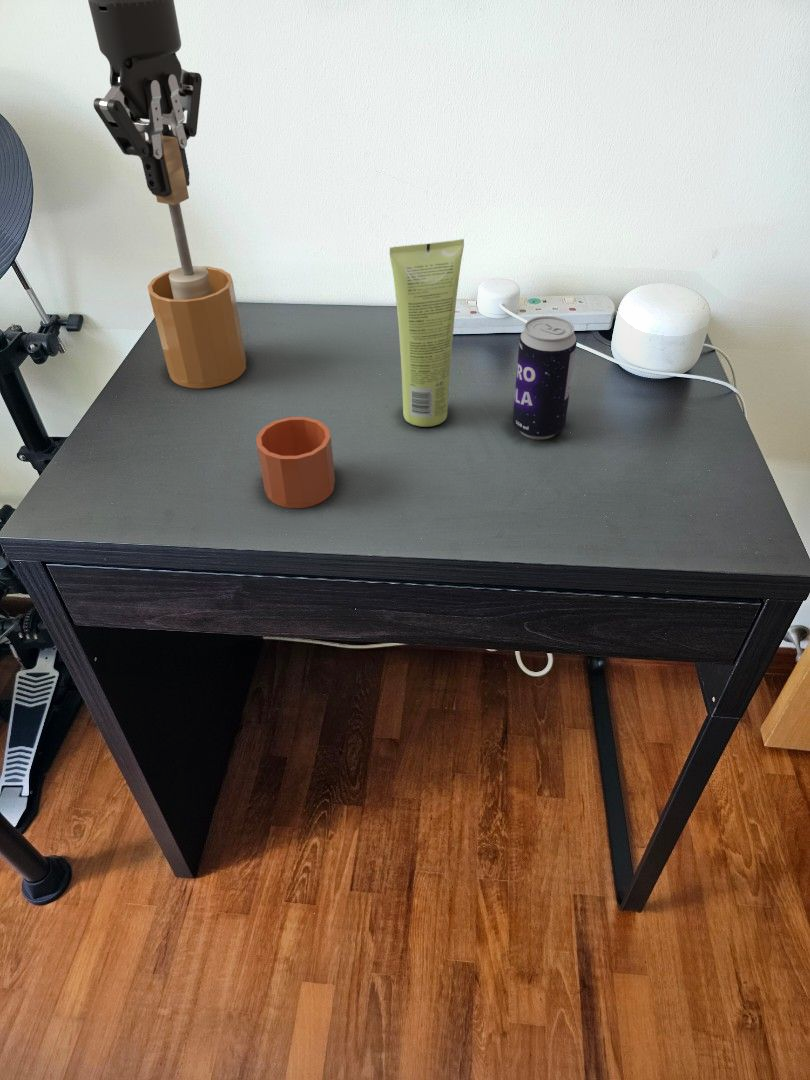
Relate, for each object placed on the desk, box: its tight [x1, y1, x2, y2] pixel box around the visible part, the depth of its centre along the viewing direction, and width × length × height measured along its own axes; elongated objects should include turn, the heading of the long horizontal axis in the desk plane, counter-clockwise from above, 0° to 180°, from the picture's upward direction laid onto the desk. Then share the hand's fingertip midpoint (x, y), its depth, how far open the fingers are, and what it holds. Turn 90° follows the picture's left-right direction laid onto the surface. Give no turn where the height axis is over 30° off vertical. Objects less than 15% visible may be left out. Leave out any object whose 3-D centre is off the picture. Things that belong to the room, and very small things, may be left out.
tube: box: [389, 238, 465, 428], centre depth 82 cm, size 6×5×20 cm
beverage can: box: [512, 315, 578, 440], centre depth 82 cm, size 6×6×12 cm
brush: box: [146, 135, 212, 300], centre depth 86 cm, size 4×4×20 cm
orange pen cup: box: [147, 265, 247, 390], centre depth 94 cm, size 9×9×11 cm
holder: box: [255, 416, 336, 509], centre depth 77 cm, size 7×7×6 cm
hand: (170, 189), depth 83 cm, fingers closed on brush, 2 cm apart
